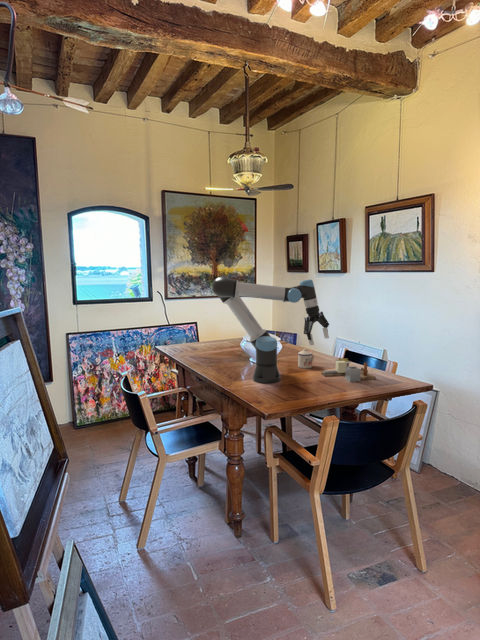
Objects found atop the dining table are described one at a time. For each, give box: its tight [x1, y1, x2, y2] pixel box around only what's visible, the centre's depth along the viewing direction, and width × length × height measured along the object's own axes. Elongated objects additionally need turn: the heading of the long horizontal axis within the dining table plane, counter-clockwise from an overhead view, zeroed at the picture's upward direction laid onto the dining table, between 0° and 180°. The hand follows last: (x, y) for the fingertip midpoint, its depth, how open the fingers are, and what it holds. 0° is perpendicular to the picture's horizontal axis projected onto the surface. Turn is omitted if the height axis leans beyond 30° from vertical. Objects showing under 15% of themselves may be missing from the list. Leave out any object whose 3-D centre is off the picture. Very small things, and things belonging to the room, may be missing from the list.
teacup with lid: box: [297, 348, 315, 369], centre depth 244 cm, size 12×9×12 cm
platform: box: [335, 357, 351, 367], centre depth 240 cm, size 12×18×7 cm, turn 44°
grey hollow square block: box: [344, 365, 361, 383], centre depth 213 cm, size 6×6×7 cm
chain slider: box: [323, 361, 347, 373], centre depth 224 cm, size 13×4×6 cm, turn 100°
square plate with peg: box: [360, 362, 377, 381], centre depth 217 cm, size 8×8×8 cm
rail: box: [320, 367, 369, 378], centre depth 226 cm, size 26×6×2 cm, turn 100°
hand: (319, 341), depth 226 cm, fingers open, 13 cm apart
